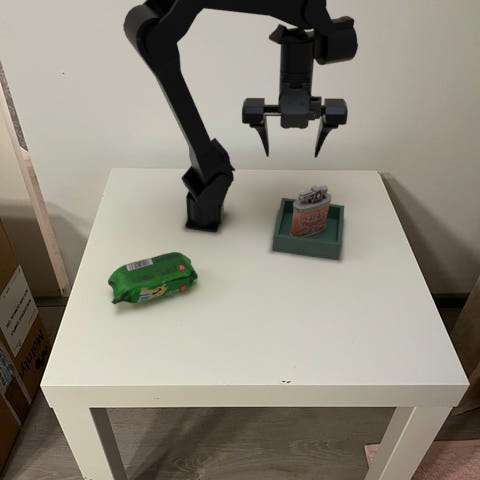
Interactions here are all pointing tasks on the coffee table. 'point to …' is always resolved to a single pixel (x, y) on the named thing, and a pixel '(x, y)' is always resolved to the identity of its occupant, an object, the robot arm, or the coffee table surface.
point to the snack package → (152, 278)
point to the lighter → (310, 212)
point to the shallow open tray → (315, 246)
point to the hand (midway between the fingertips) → (291, 156)
